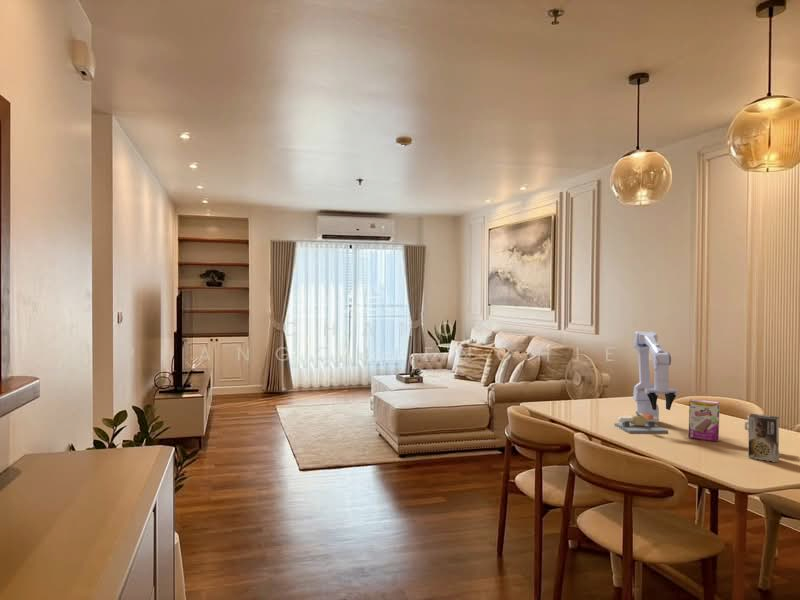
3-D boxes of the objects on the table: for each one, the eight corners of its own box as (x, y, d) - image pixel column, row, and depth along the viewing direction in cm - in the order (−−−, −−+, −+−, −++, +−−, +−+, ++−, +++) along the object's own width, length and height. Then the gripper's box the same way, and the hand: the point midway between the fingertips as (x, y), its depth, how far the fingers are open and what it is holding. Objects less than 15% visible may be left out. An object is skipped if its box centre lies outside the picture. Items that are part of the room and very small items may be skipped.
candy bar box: (688, 438, 228) (688, 400, 227) (689, 435, 232) (690, 398, 232) (718, 442, 221) (719, 403, 221) (719, 440, 225) (719, 401, 225)
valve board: (651, 425, 250) (651, 412, 250) (668, 433, 236) (668, 418, 236) (614, 425, 249) (614, 412, 249) (629, 433, 235) (629, 418, 235)
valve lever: (634, 413, 245) (634, 409, 245) (639, 413, 246) (639, 409, 246) (648, 419, 233) (648, 415, 233) (653, 419, 234) (653, 415, 234)
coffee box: (779, 459, 198) (779, 416, 198) (776, 463, 193) (777, 419, 193) (750, 454, 204) (750, 413, 204) (747, 458, 199) (748, 415, 199)
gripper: (650, 380, 232) (650, 411, 232) (682, 380, 233) (682, 411, 233) (642, 378, 239) (641, 408, 239) (673, 378, 240) (672, 408, 240)
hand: (661, 409), depth 237 cm, fingers open, 6 cm apart
